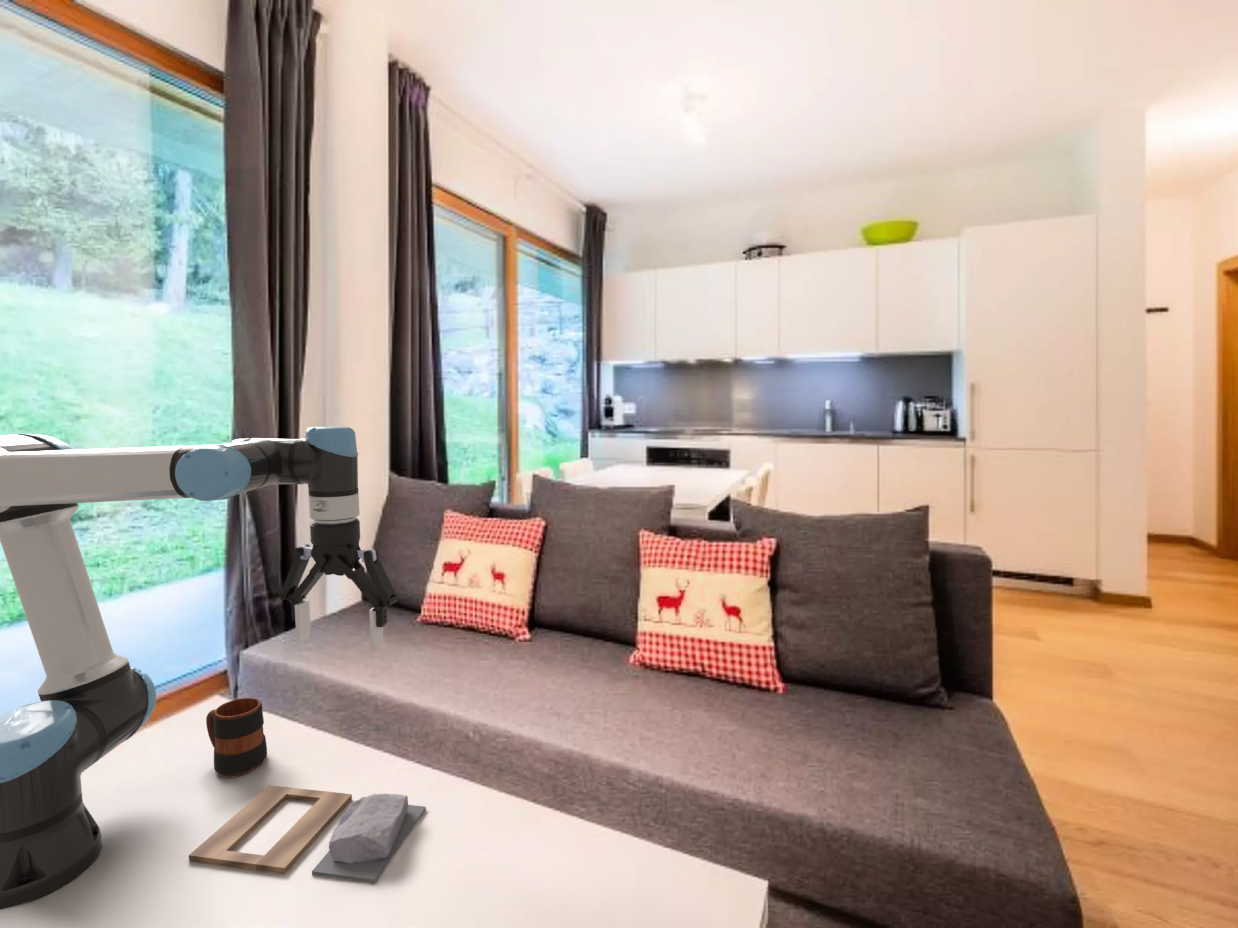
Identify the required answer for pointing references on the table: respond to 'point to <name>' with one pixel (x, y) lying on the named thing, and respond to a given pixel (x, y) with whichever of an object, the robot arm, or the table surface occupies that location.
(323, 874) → the mat
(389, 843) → the stone block
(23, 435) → the robot arm
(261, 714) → the mug
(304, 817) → the pocket board
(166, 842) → the table surface
